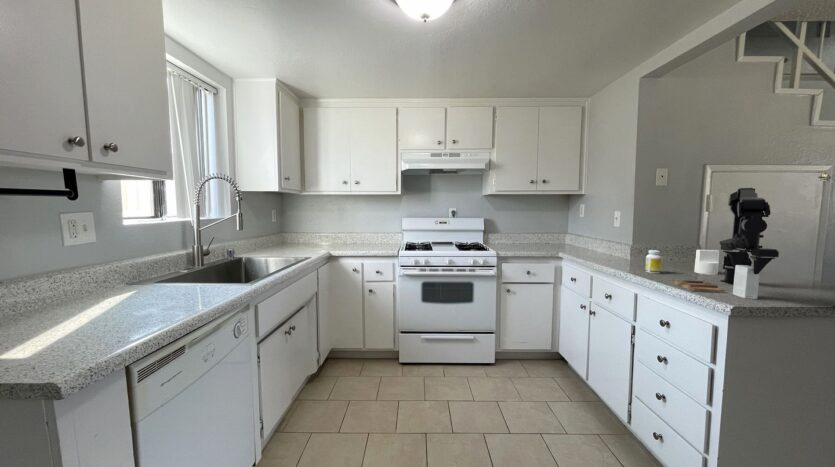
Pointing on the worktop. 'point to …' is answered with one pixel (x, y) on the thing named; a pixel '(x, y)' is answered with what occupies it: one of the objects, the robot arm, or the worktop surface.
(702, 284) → the wooden slatted trivet
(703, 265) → the cylinder with rectangular tab
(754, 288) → the skincare box
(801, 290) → the worktop surface
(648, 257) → the pill bottle
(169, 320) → the worktop surface
